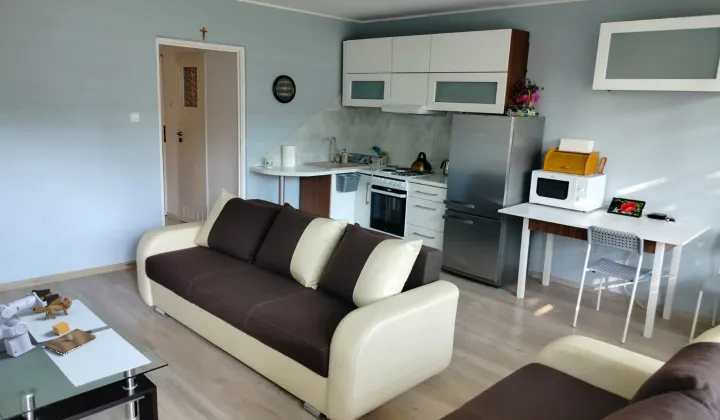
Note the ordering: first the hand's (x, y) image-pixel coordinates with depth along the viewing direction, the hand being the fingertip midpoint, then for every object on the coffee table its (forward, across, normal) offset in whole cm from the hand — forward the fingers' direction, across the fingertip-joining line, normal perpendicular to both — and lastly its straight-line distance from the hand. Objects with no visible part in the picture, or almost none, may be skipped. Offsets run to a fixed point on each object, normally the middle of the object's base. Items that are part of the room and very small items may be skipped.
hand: (54, 293), depth 253 cm
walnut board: (-4, -19, +18) cm, 27 cm away
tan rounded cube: (-1, -4, +20) cm, 21 cm away
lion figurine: (+9, +15, +23) cm, 29 cm away
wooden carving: (+9, +29, +24) cm, 39 cm away
